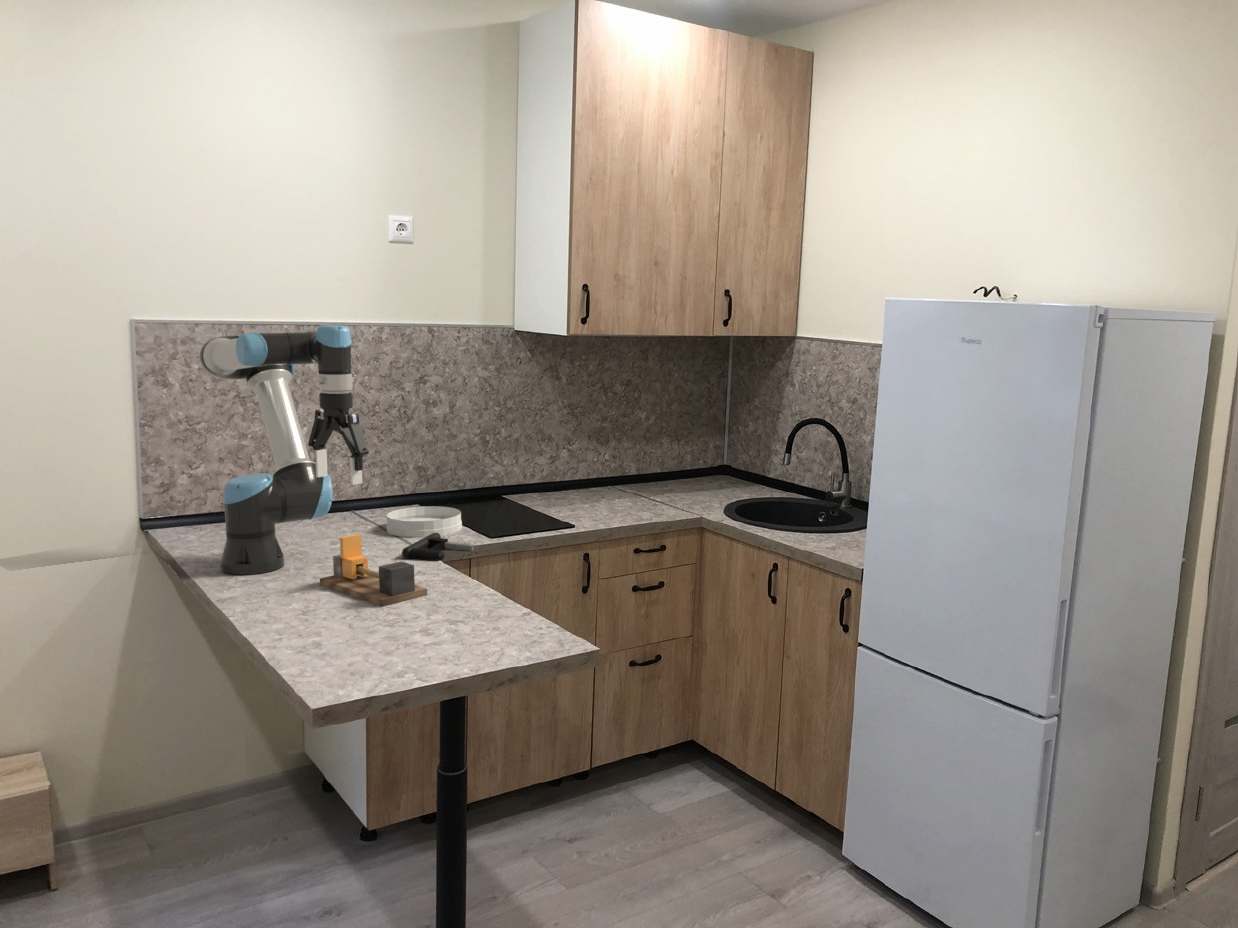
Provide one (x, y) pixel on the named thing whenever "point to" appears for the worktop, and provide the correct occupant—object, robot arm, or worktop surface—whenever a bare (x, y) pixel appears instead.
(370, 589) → the rail
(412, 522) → the dish
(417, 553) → the door handle
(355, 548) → the orange sliding rod block
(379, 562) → the worktop surface
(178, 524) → the worktop surface
